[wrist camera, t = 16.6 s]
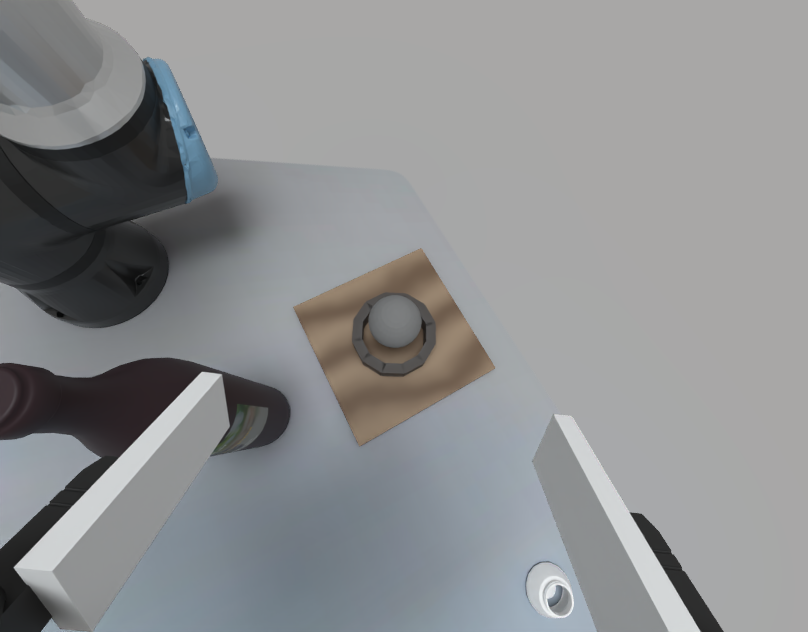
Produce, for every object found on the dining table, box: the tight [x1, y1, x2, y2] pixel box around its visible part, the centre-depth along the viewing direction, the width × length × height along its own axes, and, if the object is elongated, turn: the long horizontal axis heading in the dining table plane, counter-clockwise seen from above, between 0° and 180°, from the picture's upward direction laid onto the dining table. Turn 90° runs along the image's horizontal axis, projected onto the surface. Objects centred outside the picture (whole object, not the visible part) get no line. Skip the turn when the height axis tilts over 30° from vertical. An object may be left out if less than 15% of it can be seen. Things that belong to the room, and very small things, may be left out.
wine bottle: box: [0, 358, 290, 457], centre depth 26 cm, size 7×7×30 cm
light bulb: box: [368, 295, 422, 348], centre depth 39 cm, size 6×6×10 cm
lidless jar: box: [526, 562, 574, 618], centre depth 36 cm, size 5×3×5 cm
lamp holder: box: [293, 248, 495, 446], centre depth 43 cm, size 20×20×4 cm
